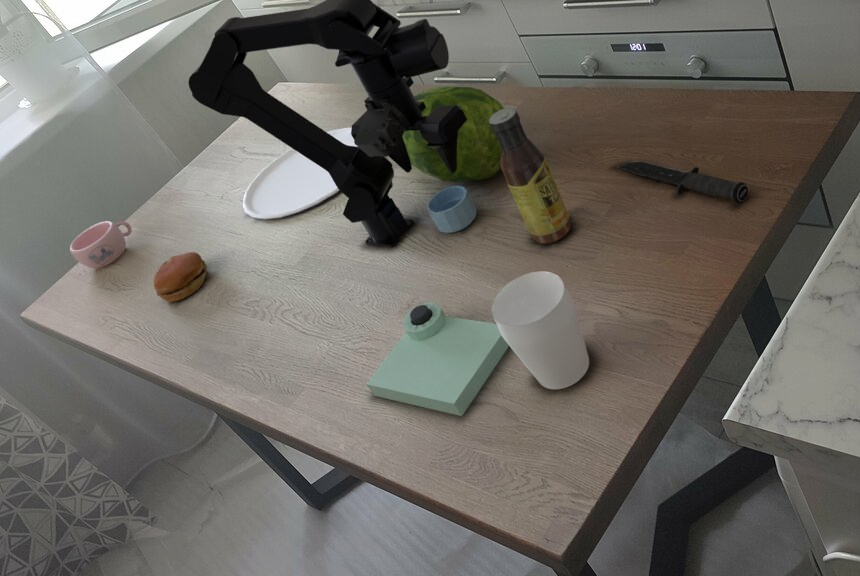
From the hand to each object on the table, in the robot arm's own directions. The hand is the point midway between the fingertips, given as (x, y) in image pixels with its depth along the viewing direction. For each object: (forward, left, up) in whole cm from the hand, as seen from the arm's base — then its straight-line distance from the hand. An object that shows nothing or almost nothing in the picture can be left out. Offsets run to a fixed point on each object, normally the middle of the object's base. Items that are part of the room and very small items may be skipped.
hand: (431, 171), depth 129 cm
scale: (+17, -28, -10) cm, 34 cm away
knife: (+34, +11, -10) cm, 37 cm away
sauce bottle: (+19, -1, -10) cm, 22 cm away
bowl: (0, 0, -10) cm, 10 cm away
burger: (-50, -21, -10) cm, 55 cm away
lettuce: (-8, +13, -10) cm, 18 cm away
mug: (-82, -16, -10) cm, 84 cm away
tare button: (+12, -24, -6) cm, 27 cm away
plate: (-46, +11, -10) cm, 48 cm away
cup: (+34, -25, -10) cm, 43 cm away
